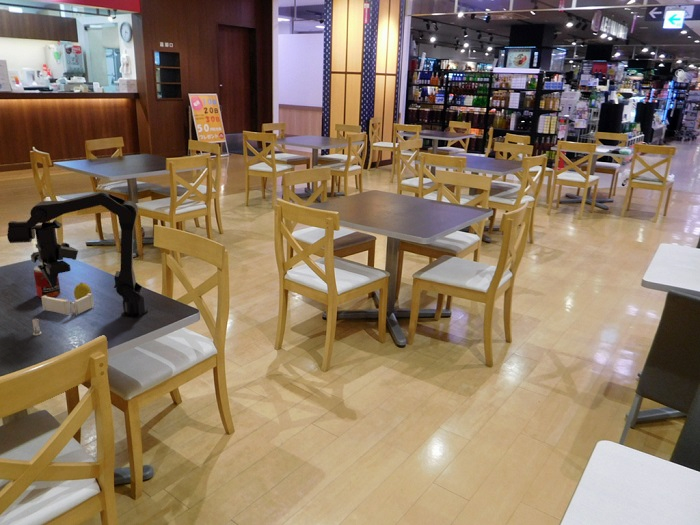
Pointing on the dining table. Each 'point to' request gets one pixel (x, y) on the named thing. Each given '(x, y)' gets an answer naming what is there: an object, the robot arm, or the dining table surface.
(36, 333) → the post
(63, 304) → the gate
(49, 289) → the canned food
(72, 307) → the hinge post
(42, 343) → the dining table surface
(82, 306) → the fence panel
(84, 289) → the lemon
